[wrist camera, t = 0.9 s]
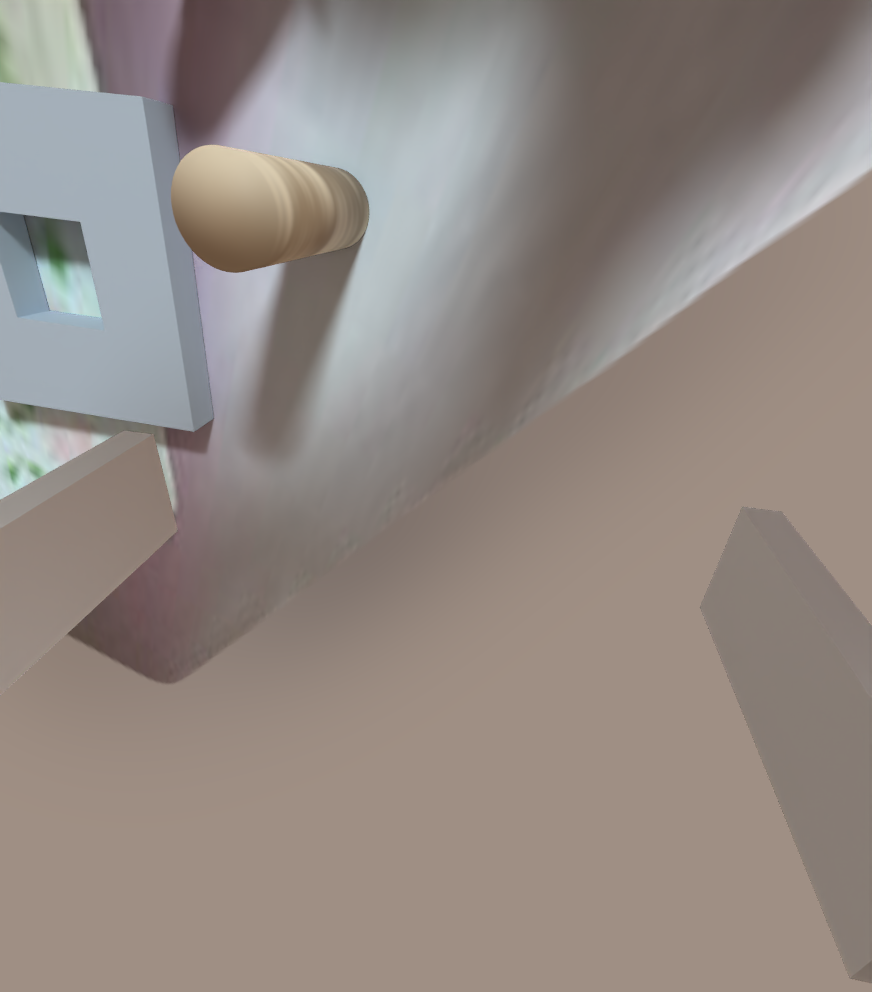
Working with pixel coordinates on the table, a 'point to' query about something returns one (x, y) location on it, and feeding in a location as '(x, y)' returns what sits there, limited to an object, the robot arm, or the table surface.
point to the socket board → (99, 260)
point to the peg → (263, 208)
